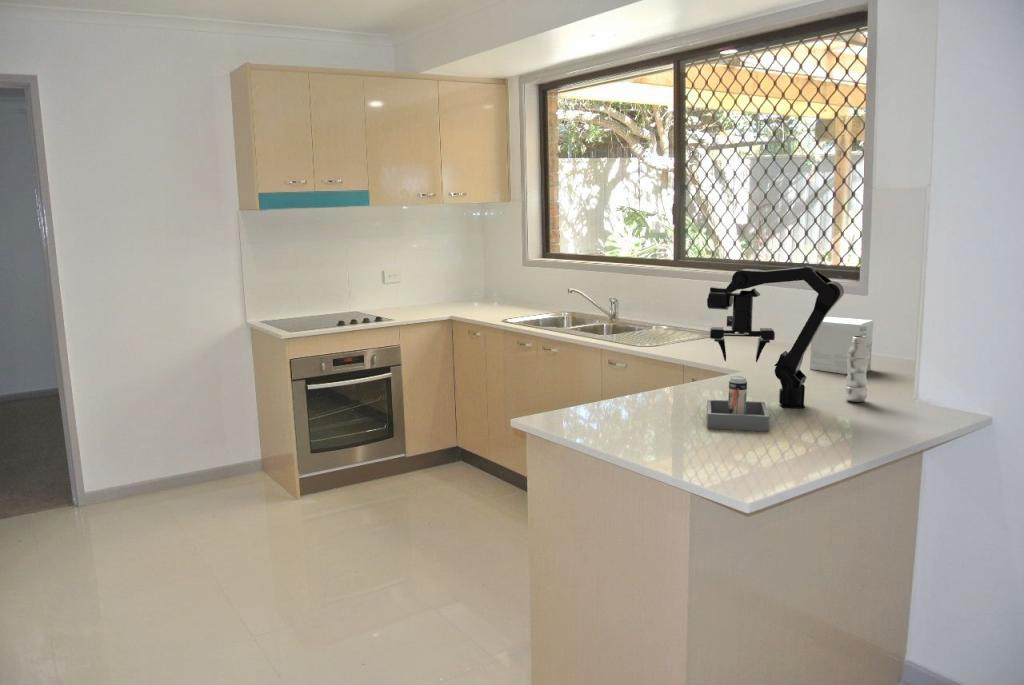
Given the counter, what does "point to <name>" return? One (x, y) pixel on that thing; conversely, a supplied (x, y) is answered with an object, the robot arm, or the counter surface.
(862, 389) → the plastic bottle
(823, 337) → the supplement box
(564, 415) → the counter surface
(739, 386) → the beer can
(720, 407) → the box
